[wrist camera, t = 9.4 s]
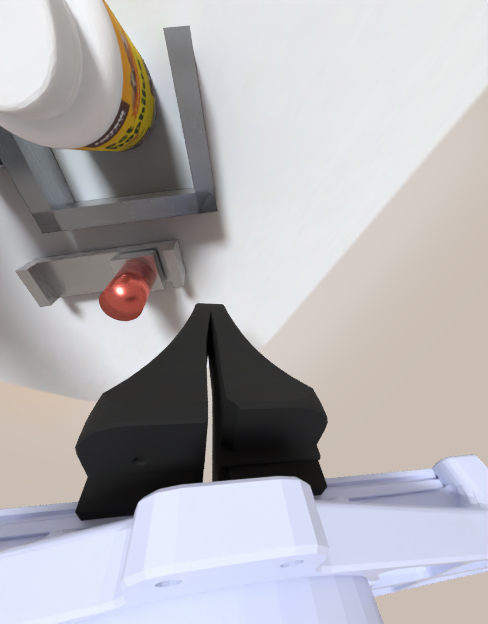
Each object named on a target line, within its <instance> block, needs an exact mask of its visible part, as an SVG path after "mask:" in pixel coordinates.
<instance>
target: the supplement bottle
mask: <svg viewBox="0 0 488 624" xmlns="http://www.w3.org/2000/svg"><path fill="white" fill-rule="evenodd" d="M155 115H156V97H155V91H154V86H153V83H152V79H151V76H150V74H149V71H148V69H147V67H146V64H145V62H144V60H143V59H142V57H141V55H140V54H139V52H138V51H137V49H136V48H135V46H134V45H133V43H132V42H131V40H130V39H129V37H128V36H127V34H126V33H125V31H124V30H123V28H122V27H121V25H120V24H119V22H118V21H117V19H116V17H115V16H114V14H113V13H112V11H111V10H110V8H109V7H108V5H107V4H106V2H105V1H104V0H0V126H1V127H3V128H4V129H6V130H8V131H9V132H11V133H13V134H15V135H17V136H19V137H21V138H23V139H25V140H27V141H30V142H32V143H35V144H38V145H41V146H46V147H51V148H58V149H73V150H92V151H114V152H122V151H128V150H131V149H134V148H136V147H138V146H139V145H140V144H142V143H143V142H144V141H145V140H146V138H147V137H148V136H149V134H150V132H151V130H152V128H153V125H154V121H155Z"/></svg>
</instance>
